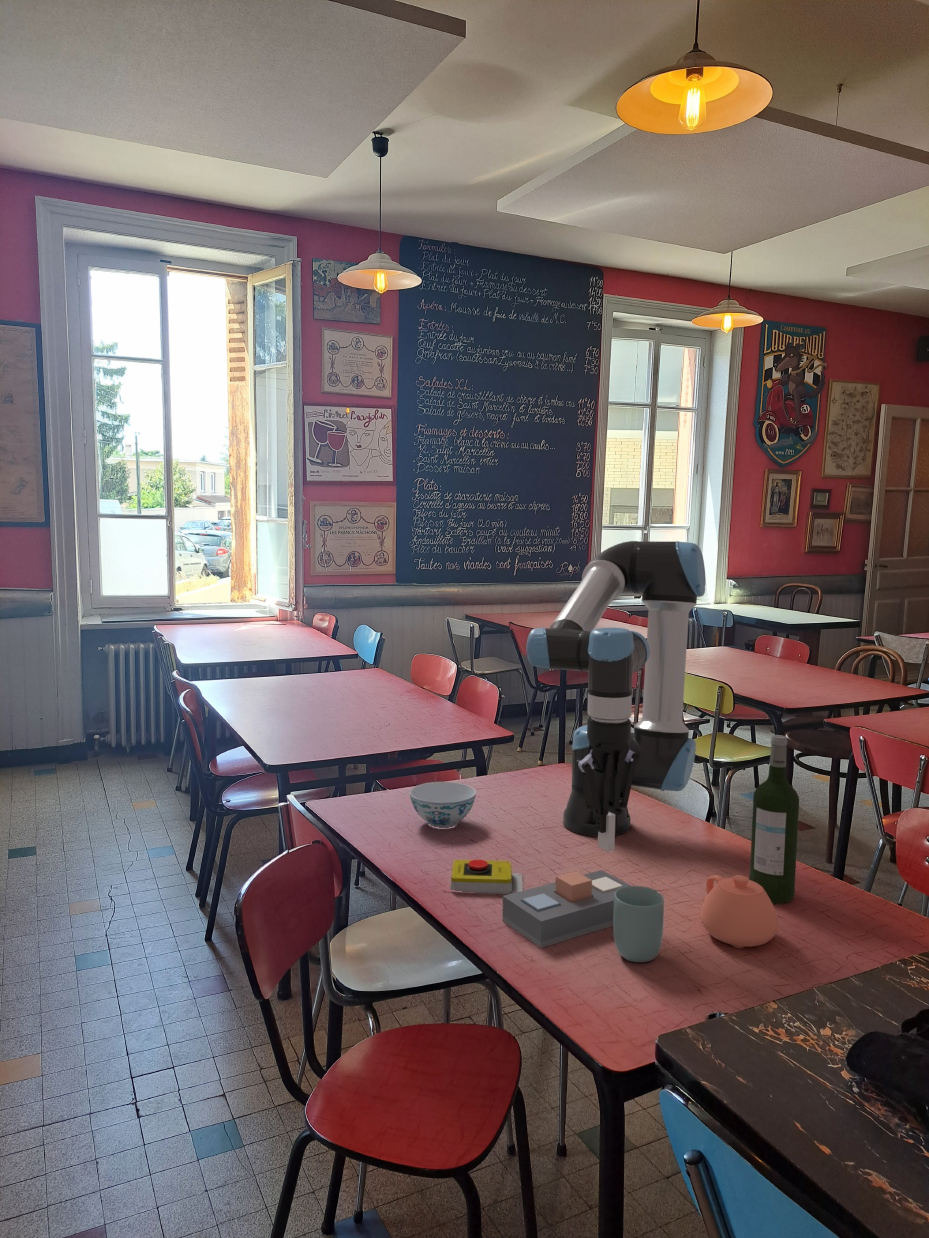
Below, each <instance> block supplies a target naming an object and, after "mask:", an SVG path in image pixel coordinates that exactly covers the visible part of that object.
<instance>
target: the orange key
mask: <svg viewBox="0 0 929 1238" xmlns="http://www.w3.org/2000/svg"><path fill="white" fill-rule="evenodd" d="M583 875H584V874H582V873H580V872H577V871H572V872H568V873H564V874H561V875H556V876H555V882H556V894H558V895H559V896H561V897H563V898H564V899H566V900H568V901H569V902H571V903H572V902H575V901H579V900H582V899H586V898H589V897H592V880H591V879H589V878H587V877H585V876H583Z"/></svg>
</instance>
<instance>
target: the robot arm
mask: <svg viewBox="0 0 929 1238" xmlns="http://www.w3.org/2000/svg"><path fill="white" fill-rule="evenodd" d="M706 579H707V578H706V568H705V561H704V556H703V553H702V550H701V548H700V546H699V545H698V544H697V543H695V542H694V543H693V542H687V541H678V540H676V541H657V540H656V541H655V540H652V541H647V540H645V541H642V540H641V541H639V540H629V541H622V542H620V543H617V544H614V545H613V546H610V547H608V548H606V549H605V550H603V551H601V552H600V553H598V554H597V555H595V556H594V557H593V558H592V559H591V560H590V561H588V563H587V565H586V566H585V568H584V570H583V571H582V574H581V582H580V583H579V585H578V586H577V588H576V589H575V590H574V592H573V593H572V595H571V596H570V598H569V599H568V601H567V602H566V603H565V605H564V606H563V608H562V609H561V610H560V612H559V614H558V615H557V617H555V620H554V621H553V622H552V624H551V625H550V627H544V626H543V627H536V628H532V629H531V631H530V632H529V634H528V635H527V640H526V646H525V648H526V649H525V650H526V657H527V658H526V659H527V661H528V663H529V665H531V666H533V667H536V668H543V669H547V670H565V671H577V672H578V671H580V672H588V673H587V675H588V679H587V680H588V681H587V682H588V683H587V684H588V685H587V687H588V688H587V715H588V716H589V717H588V718H587V719H586V721H587V723H586V724H585V725H581V726H580V727H578V728H577V729H575V730H574V732H573V734H572V735H573V738H572V746H571V750H572V751H571V752H572V753H571V754H572V756H571V757H572V758H571V791H570V794H569V797H568V801H567V804H566V807H565V809H564V811H563V813H562V814H563V815H562V816H563V817H562V824H563V826H564V827H565V828H566V829H567V830H569V831H571V832H573V833H576V834H579V835H584V836H590V837H591V836H593V837H597V848H600V849H602V850H604V851H606V852H607V853H608V852H612V851H615V844H616V843H615V840H616V838H615V837H616V836H618V835H623V834H625V833H627V832H629V831H630V828H631V815H630V813H629V808H628V804H629V800H630V793H631V790H632V789H631V788H632V787H639V788H649V789H653V790H654V789H655V790H659V791H660V790H661V792H665V791H666V792H667V791H669V792H681V791H682V790H684V789H685V788H686V786H688V783H689V781H690V777H691V775H692V772H693V767H694V764H695V763H694V762H695V757H696V751H697V749H696V748H697V744H696V743H697V742H696V740H695V739H693V738H691V737H689V736H690V735H689V734H690V733H689V732H690V728H688V727H687V726H686V724H685V723H684V722H683V712H684V700H685V699H684V697H685V696H684V695H685V681H686V680H685V679H686V677H685V676H686V665H687V649H688V648H687V647H688V646H687V645H688V634H689V633H688V629H689V613H690V612H691V610H692V609H694V608H695V607H696V606H697V602H698V601H697V599H698V598H700V597H703V596H704V595H705V593H706V581H707V580H706ZM622 594H640V595H642V597H641V602H642V604H643V605H644V606H645V607H646V609H647V610H648V615H647V632H646V637H645V636H643V634H641V633H639V632H637V631H635V630H630V629H627V628H625V627H600V628H599V627H597V625H598V624H599V622H600V620H601V619H602V616H603V615H604V614H605V612H606V610H607V609H608V607H609V605H610V603H611V602H612V601H613V600H616V599H617V598H618V597H619V596H621V595H622ZM596 627H597V628H596ZM644 667H645V668H644ZM643 668H644V681H643V682H644V684H643V697H642V698H643V699H642V701H643V702H642V714H641V715H642V717H641V719H640V720H639V721H638V722H636V724H635V725H634V730H633V731H634V732H632V721H631V720H630V718H631V717H632V713H633V712H632V710H633V709H632V704H633V702H632V699H633V674H635V673H637V672H639V671H641V670H642V669H643Z"/></svg>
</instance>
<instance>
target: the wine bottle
mask: <svg viewBox="0 0 929 1238" xmlns="http://www.w3.org/2000/svg"><path fill="white" fill-rule="evenodd" d="M770 745H771V746H770V755H769V767H768V768H769V769H768V777H767V779H766V780H764V781H763V782H762V783H760V784H759V785H758V786H757V787H756V788H755V791H754V793H753V802H752V819H751V820H752V821H751V838H750V839H751V840H750V841H751V843H750V860H749V861H750V864H749V880H751V881H754V882H756V883H758V884H759V885H760V886H762V887H763V889H764V890H765V892H766V893H767V895H768V897H769V898H770V900H771V902H772V904H778V905H779V904H786V903H787V904H788V903H790V902H791V901H793V900H794V898H795V889H796V871H797V870H796V869H797V866H796V865H797V853H798V851H797V849H798V835H799V834H798V833H799V832H798V829H799V813H800V797H799V794H798V792H797V790H796V789H795V788H794V787H793V786H792V785H791V784H790V783H789V782H788V779H787V745H788V738H787V736H785V735H781V734H773V735H772V736H771V738H770Z"/></svg>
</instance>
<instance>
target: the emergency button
mask: <svg viewBox="0 0 929 1238" xmlns="http://www.w3.org/2000/svg"><path fill="white" fill-rule="evenodd" d="M452 864H453V865H452V870H451V872H452V875H451V886H450V889H451V890H455V891H462V892H475V893H474V894H487V893H488V894H489V895H490V894H492V895H493V894H495V895H499V894H500V895H508V894H512V893H516V892H520V891H524V883H523V881H524V879H523V874H521V873H519V872H518V873H517V872H512V871H513V870H512V862H511V861H509V860H483V859H455V860H453V863H452ZM488 894H487V895H488Z"/></svg>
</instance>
